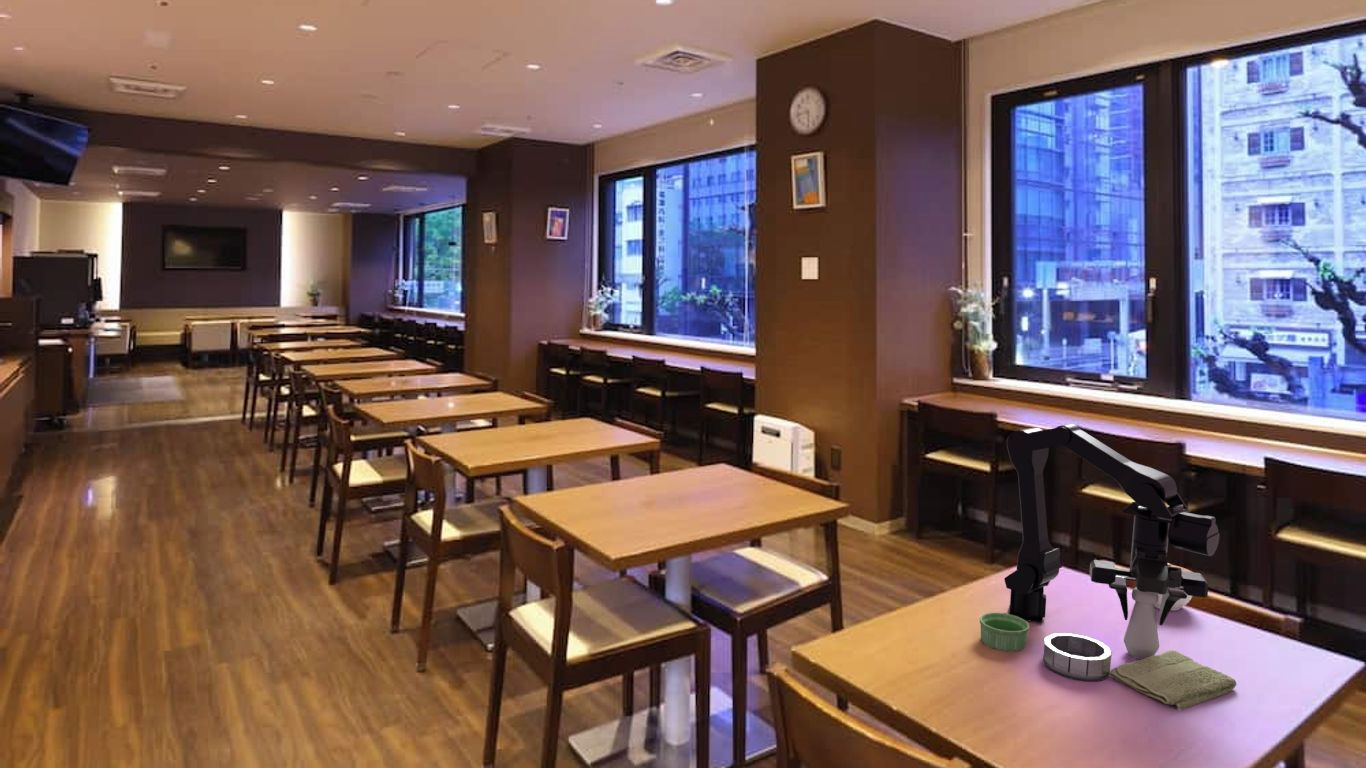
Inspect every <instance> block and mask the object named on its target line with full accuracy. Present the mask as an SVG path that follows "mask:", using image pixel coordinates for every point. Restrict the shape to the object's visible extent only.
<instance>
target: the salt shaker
mask: <svg viewBox="0 0 1366 768" xmlns="http://www.w3.org/2000/svg"><path fill="white" fill-rule="evenodd" d="M1131 598H1132V600H1134V604H1133V607H1132V612H1131V615H1130V618H1129V620H1128V623H1127V627H1126V631H1125V634H1124V637H1123V643H1124V645H1125V648H1126V649H1125V650H1126V651H1127V654H1128V655H1129V656H1131V657H1132V658H1135V659H1137V660H1142V659H1145V658H1148V657H1151V656H1156V653H1157V652H1158V651H1159V648H1160V639H1159V634H1158V623H1157V617H1156V609H1155V608H1156V607H1154V604H1156V603H1157V602H1158V598H1159V596H1158V593H1154V592H1142V591H1139V590H1138V589H1137V587H1136V586H1135V587H1134V588H1132V591H1131Z"/></svg>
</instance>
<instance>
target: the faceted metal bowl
mask: <svg viewBox="0 0 1366 768" xmlns="http://www.w3.org/2000/svg"><path fill="white" fill-rule="evenodd" d="M1043 641H1044V642H1043V655H1042V664H1043V666H1044V667H1045V668H1046V669H1048V671H1050V672H1052V673H1054V674H1056V675H1057V676H1060V677H1063V678H1067V679H1069V680H1074V681H1079V682H1088V683H1090V682H1091V683H1093V682H1096V683H1097V682H1101V681H1104V680H1107V679H1109V677H1110V676H1109V672H1110V671H1111V664H1112V652H1111V651H1112V650H1111V649H1110V647H1109V646H1108V645H1106V644H1105V643H1103V642H1102V641H1099V640H1097V639H1094V638H1092V637H1088V636H1084V635H1080V634H1074V633H1067V632H1065V633H1064V632H1062V633H1051V634H1049V635H1047V636H1045V637H1044V640H1043Z"/></svg>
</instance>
